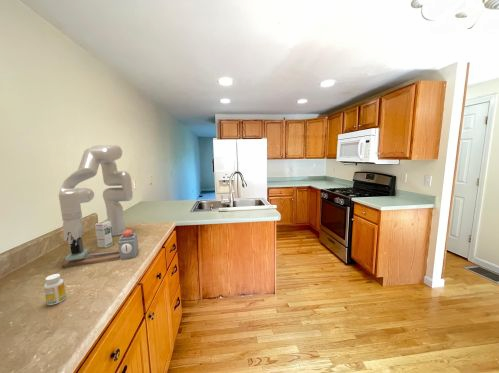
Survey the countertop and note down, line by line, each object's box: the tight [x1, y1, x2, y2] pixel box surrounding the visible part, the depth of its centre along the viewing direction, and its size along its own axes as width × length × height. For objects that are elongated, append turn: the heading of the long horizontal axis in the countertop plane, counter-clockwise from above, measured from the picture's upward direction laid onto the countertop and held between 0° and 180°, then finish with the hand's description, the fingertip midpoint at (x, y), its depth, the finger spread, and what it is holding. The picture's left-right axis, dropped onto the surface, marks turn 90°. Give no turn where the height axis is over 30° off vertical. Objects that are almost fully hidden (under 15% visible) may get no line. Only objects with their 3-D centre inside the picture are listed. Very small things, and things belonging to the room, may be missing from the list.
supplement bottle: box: [43, 273, 67, 306], centre depth 79 cm, size 5×5×10 cm
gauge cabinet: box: [118, 232, 139, 260], centre depth 115 cm, size 11×7×10 cm, turn 18°
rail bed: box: [61, 249, 121, 269], centre depth 111 cm, size 10×24×3 cm, turn 109°
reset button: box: [122, 229, 133, 237], centre depth 114 cm, size 4×4×2 cm
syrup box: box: [94, 220, 114, 248], centre depth 127 cm, size 6×6×14 cm
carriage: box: [64, 237, 90, 262], centre depth 108 cm, size 8×7×9 cm
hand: (77, 250), depth 108 cm, fingers closed on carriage, 3 cm apart
